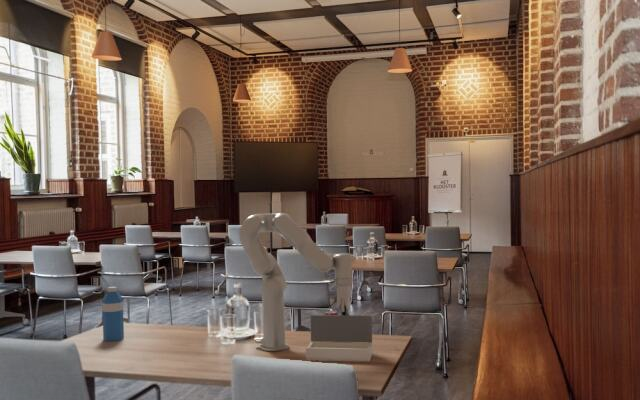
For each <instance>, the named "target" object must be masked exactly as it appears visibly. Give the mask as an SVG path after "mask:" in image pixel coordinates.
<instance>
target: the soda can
mask: <svg viewBox="0 0 640 400" xmlns="http://www.w3.org/2000/svg"><path fill="white" fill-rule="evenodd" d="M323 315H338V311H337V310H326V311H324V314H323Z"/></svg>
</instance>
